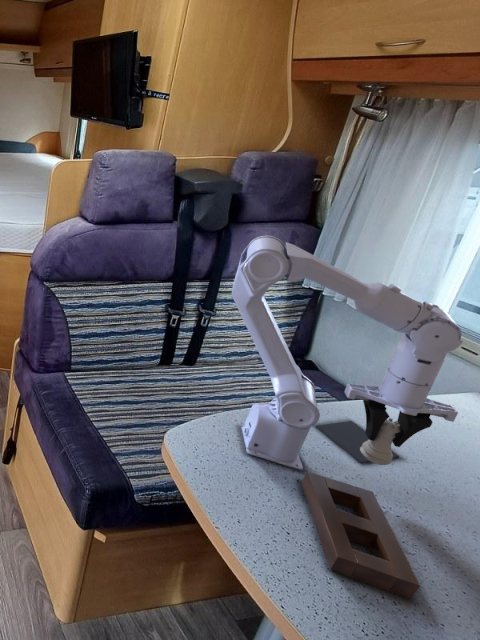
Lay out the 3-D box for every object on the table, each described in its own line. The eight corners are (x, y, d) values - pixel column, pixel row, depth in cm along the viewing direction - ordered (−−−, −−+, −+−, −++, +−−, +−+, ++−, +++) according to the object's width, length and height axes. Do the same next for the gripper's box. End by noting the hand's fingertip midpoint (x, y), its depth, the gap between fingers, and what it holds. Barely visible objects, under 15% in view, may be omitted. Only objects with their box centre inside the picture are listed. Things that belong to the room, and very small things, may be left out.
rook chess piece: (396, 468, 81) (413, 432, 78) (367, 464, 82) (383, 428, 79) (381, 450, 85) (396, 415, 82) (353, 445, 86) (368, 411, 83)
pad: (360, 463, 91) (361, 462, 91) (315, 426, 100) (315, 425, 100) (398, 457, 93) (399, 456, 93) (351, 421, 102) (351, 420, 102)
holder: (330, 569, 70) (337, 556, 69) (300, 482, 85) (306, 470, 84) (411, 599, 67) (420, 586, 66) (365, 503, 82) (372, 491, 81)
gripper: (365, 377, 77) (339, 442, 81) (480, 401, 71) (445, 469, 76) (351, 356, 83) (328, 417, 87) (456, 376, 78) (425, 440, 82)
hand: (381, 439), depth 82 cm, fingers closed on rook chess piece, 3 cm apart
